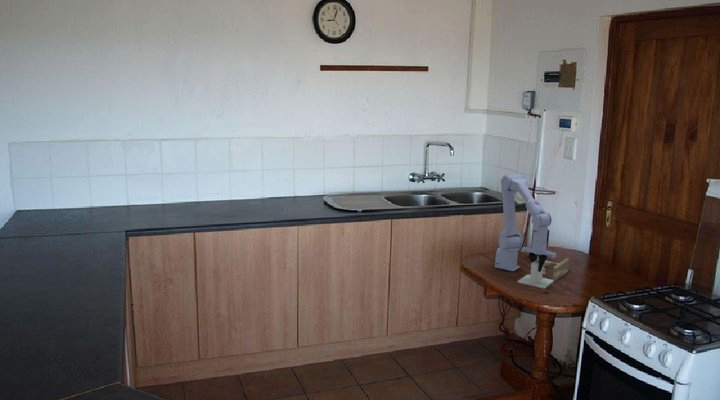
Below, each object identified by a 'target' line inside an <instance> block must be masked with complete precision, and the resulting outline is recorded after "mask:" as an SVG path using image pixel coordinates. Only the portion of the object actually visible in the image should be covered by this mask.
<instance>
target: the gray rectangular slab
mask: <svg viewBox="0 0 720 400" xmlns="http://www.w3.org/2000/svg"><path fill="white" fill-rule="evenodd" d="M530 263H531V262H530ZM543 267H544V266H543ZM543 267H542V270H541V271H540V272H538V268H539V259H537V260H536V261H534V262H533V263H531V265H530V274H529V275H530V283H531V284H535V283H536V282H538V281H539V280H540V279H542V278H543V275H544V274H543Z"/></svg>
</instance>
